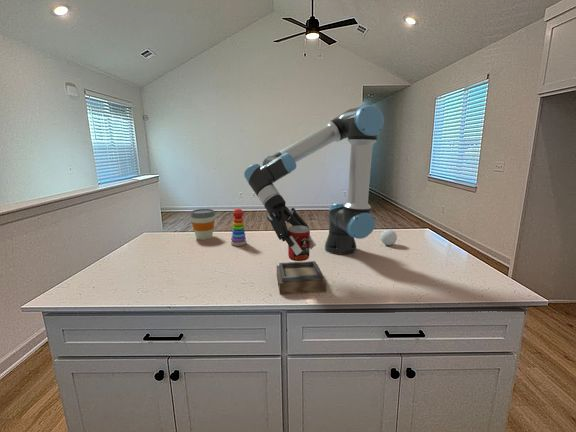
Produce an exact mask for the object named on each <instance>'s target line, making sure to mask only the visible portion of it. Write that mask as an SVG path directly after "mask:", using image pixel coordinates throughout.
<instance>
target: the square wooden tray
mask: <svg viewBox="0 0 576 432" xmlns="http://www.w3.org/2000/svg"><path fill="white" fill-rule="evenodd" d="M276 279H277V285H278V291H279V295H290V294H294V295H295V294H306V293H307V294H309V293H312V294H313V293H326V292H327V280H326V278H325V275H324V274H323V272H322V271H321V268H320V267H319V265H318V263H317V262H316V261H315V260H314V261H312V260H311V261H292V262H291V261H290V262H289V261H288V262H287V261H286V262H279V263H278V265H276Z"/></svg>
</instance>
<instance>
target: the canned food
mask: <svg viewBox="0 0 576 432" xmlns="http://www.w3.org/2000/svg"><path fill="white" fill-rule="evenodd" d="M287 229H288V232H289V235H290V236H292V237H293V238H294V239H295V241H296V242H297V244H298V245H299V247H300V248H301V250H302V252H301V253H299V254H298V255H297V256H296V254H295V253H294V251H293V250H292V248H291V247H290V246H289V245H288V244H287V245H288V247H287V248H288V249H287V254H288V258H289V259H290V260H292V261H293V262H306V261H307V260H309V259H310V250H311V249H310V236H311V228H310V227H306V226H292V225H291V226H288V227H287ZM290 236H289V237H290Z"/></svg>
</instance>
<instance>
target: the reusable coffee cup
mask: <svg viewBox="0 0 576 432" xmlns="http://www.w3.org/2000/svg"><path fill="white" fill-rule="evenodd" d="M190 218H191V220H192V221H191V224H192V229H193V230H194V235H195V238H196V239H197V240H210V239H212V238H213V237H214V236H213V235H214V234H213V233H214V228H215V210H214V209H211V208H199V209H194V210H191V211H190Z"/></svg>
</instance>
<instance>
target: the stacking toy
mask: <svg viewBox="0 0 576 432" xmlns="http://www.w3.org/2000/svg"><path fill="white" fill-rule="evenodd" d="M232 215H233V216H234V218H233V223H232V230H231V239H230V244H231V245H232V246H235V247H236V246H237V247H240V246H241V247H242V246H244V245H246V244H247V238H246V232H245V225H244V218H243V217H244V216H243V215H244V211H243V210H242V209H241V208H235V209H234V210H233V212H232Z"/></svg>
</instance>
